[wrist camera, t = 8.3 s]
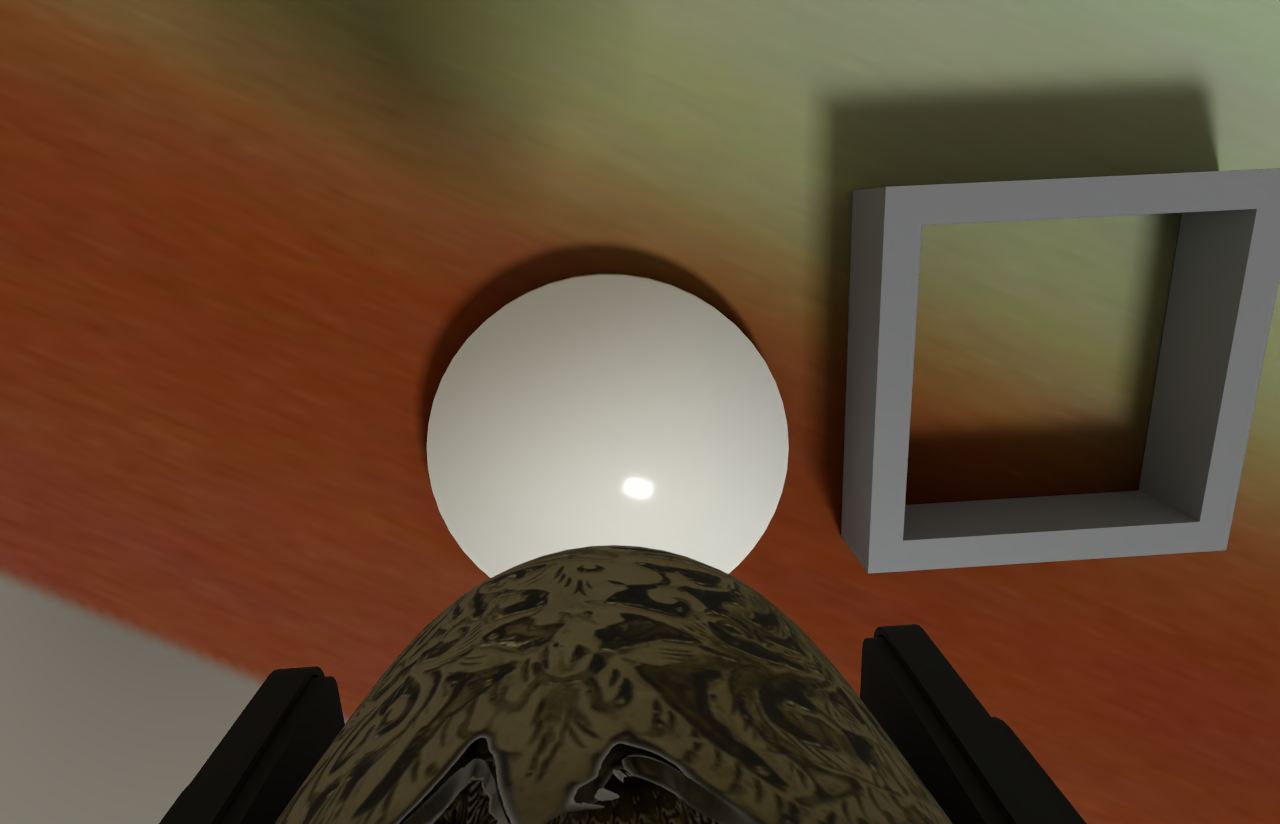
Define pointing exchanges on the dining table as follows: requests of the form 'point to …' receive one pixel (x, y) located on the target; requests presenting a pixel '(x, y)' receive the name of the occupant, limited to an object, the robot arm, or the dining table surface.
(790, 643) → the ornate bronze lamp shade
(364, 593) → the dining table surface
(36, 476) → the dining table surface
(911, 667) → the robot arm
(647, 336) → the coaster
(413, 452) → the dining table surface
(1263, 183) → the pocket frame
